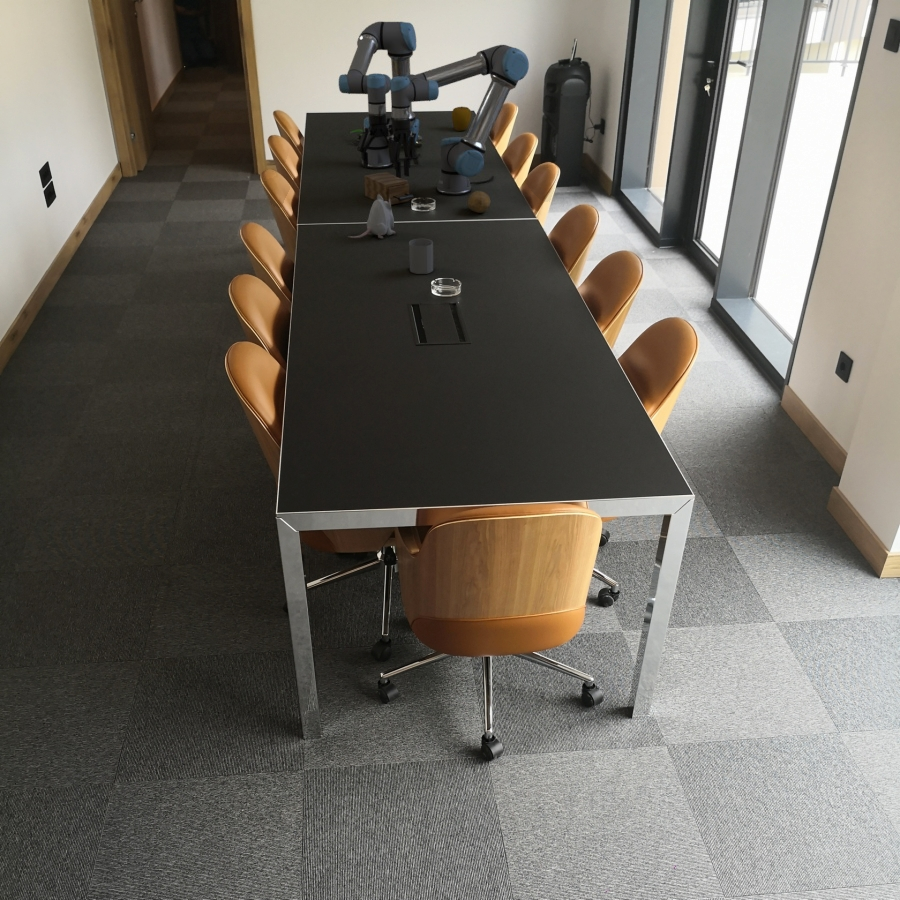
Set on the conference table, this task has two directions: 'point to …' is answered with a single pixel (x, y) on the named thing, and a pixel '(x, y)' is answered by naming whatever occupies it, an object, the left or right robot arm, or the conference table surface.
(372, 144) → the left robot arm
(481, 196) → the potato
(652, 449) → the conference table surface
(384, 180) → the cabinet
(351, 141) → the green leafy plant
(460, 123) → the apple
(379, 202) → the toy
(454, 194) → the right robot arm
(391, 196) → the drawer
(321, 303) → the conference table surface
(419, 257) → the cup
